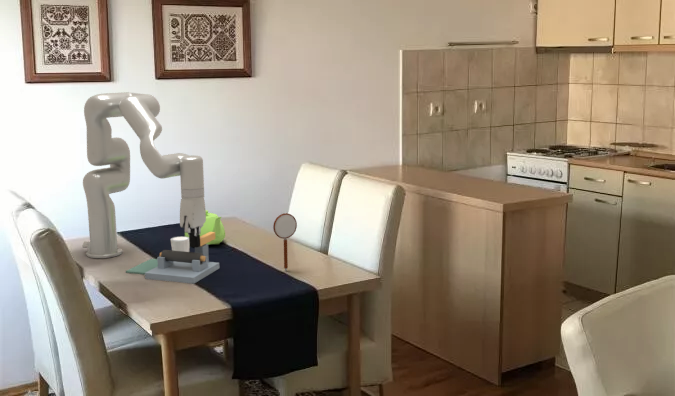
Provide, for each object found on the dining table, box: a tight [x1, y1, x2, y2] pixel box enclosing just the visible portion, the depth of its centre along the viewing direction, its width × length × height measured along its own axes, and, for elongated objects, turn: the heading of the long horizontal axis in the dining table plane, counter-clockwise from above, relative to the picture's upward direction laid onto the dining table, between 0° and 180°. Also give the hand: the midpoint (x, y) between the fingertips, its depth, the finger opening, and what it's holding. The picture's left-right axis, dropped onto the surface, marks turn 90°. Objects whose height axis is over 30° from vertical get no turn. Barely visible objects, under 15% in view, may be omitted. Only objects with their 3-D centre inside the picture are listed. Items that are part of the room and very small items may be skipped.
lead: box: [158, 249, 206, 264], centre depth 248 cm, size 16×4×4 cm, turn 72°
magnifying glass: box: [272, 212, 298, 272], centre depth 250 cm, size 9×2×20 cm, turn 120°
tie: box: [200, 232, 215, 246], centre depth 256 cm, size 2×11×2 cm, turn 162°
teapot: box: [184, 209, 226, 246], centre depth 287 cm, size 22×15×13 cm
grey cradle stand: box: [144, 244, 220, 285], centre depth 249 cm, size 18×18×8 cm
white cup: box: [170, 236, 190, 252], centre depth 269 cm, size 7×7×7 cm
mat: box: [125, 258, 158, 276], centre depth 257 cm, size 8×16×1 cm, turn 162°
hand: (194, 246), depth 249 cm, fingers closed
